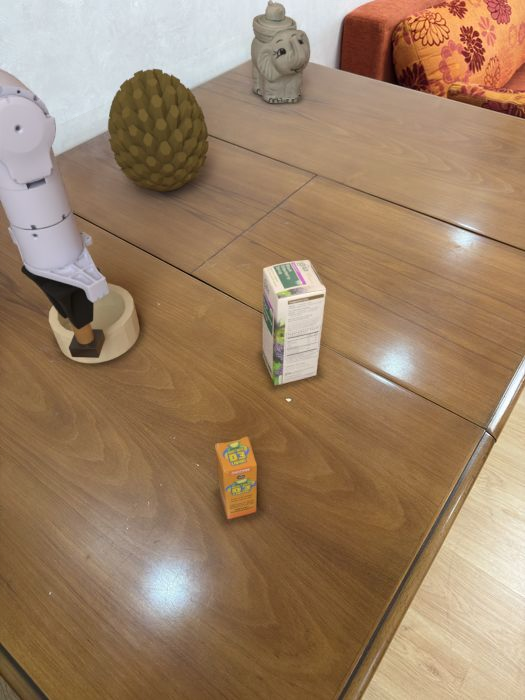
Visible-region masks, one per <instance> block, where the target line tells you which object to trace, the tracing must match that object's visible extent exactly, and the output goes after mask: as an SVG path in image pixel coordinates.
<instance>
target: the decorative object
mask: <svg viewBox="0 0 525 700" xmlns="http://www.w3.org/2000/svg"><path fill="white" fill-rule="evenodd" d="M119 88H120V89H118V90H117V91H116V93H115V94H114V96H113V99H112V101H111V105H110V108H109V112H108V113H109V114H108V117H109V118H108V121H107V131H108V133H109V135H110V138H109V139H108V141H109V144H110V150H111V152H113V157H114V160H115V163H116V164H117V166H118V167H119V168H120V170H121V172H122V173H123V174H124V175H125V177H127V178H128V179H129V180H131V182H133V184H135V185H136V186H137V187H140V188H146V189H149V190H153V191H155V192H161V193H162V192H172V191H176V190H177V189H180V188H181V187H183V186H184V185H186V184H187V183H189V182H191V181H192V180H194V179H196V178H197V177H198V176H199V174H200V173H201V172H200V169H201V168H202V167H203V166H205V163H206V159H207V155H206V154H207V152H208V151H209V140H207V139H208V137H209V135H208V134H209V133H208V127H207V124H206V121H205V119H206V118H205V114H204V112H203V109H202V107H201V106H200V105H199V103H198V101H197V99H196V96H195V95H194V93H193V92H192V90H191V89H190V88H189V87H186V86H185V85H184V84H183V83H182V82H181V79H180V78H178V77H176V76H174V74H172V73H170V74H169V73H167V72H163V69H159V68H152V69H146V70H143V69H141V70H138V71H136V72H134V73H133V76H132V77H130V78H129V79H126V80H124V81H123V83H122V84H120V86H119Z"/></svg>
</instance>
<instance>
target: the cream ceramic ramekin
mask: <svg viewBox="0 0 525 700" xmlns="http://www.w3.org/2000/svg"><path fill="white" fill-rule="evenodd" d="M107 285H108V288H109V292H110V293H108V294H107V295H105V296H104V297H102V298H100V299H98V300H97V301H95V302H94V310H93V321H92V322H91V323H90V325H91V328H92V329H102V330H103V333H104V336H105V341H104V344H103V347H102V350H101V353H100V356H99V358H84V357H72V356H71V353H70V350H69V346H70V343H71V341H72V338H73V336H74V331H73V329H72V326H71V323H70V321H69V319H68V318H66V319H64V318H63V317H62V316H61V315H60V314H59V313H58V311H57V310H56V309H55V307H54V306H53V305H52V306H51V308H50V310H49V312H48V324H49V325H50V327H51V330H52V333H53V335H54V337H55V340H56V343H57V344H58V346H59V349H60V351H61V352H62V353H63V354H64V356H66V357H67V358H69V359H70V360H72V361H75V362H78V363H84V364H99V363H104V362H108V361H111V360H114V359H116V358H118V357H120V356H121V355H123V354H125V353H126V352H128V351H129V350H130V349H131V348H132V347H133V346H134V344H135V343H136V341H137V340H138V337H139V335H140V324H139V318H138V313H137V309H136V306H135V305H136V304H135V302H134V301H135V300H134V298H133V297H132V295H131V293H130V292H129V291H128V290H126V289H125V288H123V287H122V286H119V285H116V284H113V283H110V282H107Z"/></svg>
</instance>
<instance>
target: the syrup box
mask: <svg viewBox="0 0 525 700" xmlns="http://www.w3.org/2000/svg"><path fill="white" fill-rule="evenodd" d="M326 294H327V288H326V286H325V285H324V284H323V282H322V280H321V278H320V275H319V273H318V272H317V270H316V268H315V267H314V266H313V264H312V262H311V260H310V259H301V260H294V261H293V260H292V261H286V262H282V263H281V262H280V263H277V264H272V265H269V266H266V267H263V269H262V332H261V333H262V337H261V339H262V357H263V360H264V363H265V366H266V368H267V370H268V373H269V375H270V377H271V380H272V382H273V385H274V386H279V385H285V384H287V383H292V382H296V381H300V380H303V379H308V378H310V377H314V376H317V374H318V366H319V356H320V350H321V349H320V348H321V341H322V340H321V339H322V329H323V322H324V313H325V304H326V297H327V296H326Z"/></svg>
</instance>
